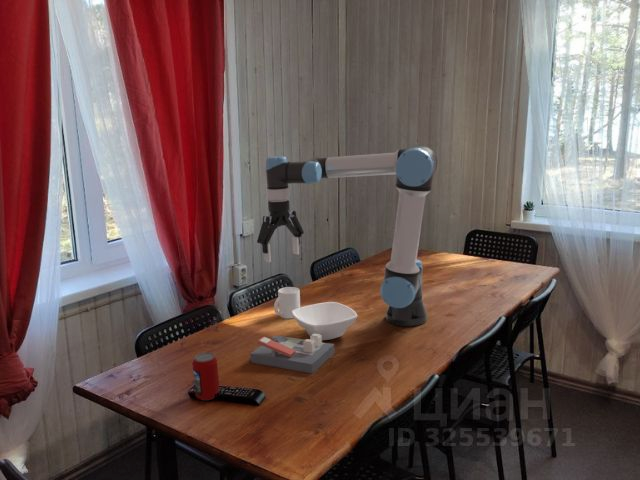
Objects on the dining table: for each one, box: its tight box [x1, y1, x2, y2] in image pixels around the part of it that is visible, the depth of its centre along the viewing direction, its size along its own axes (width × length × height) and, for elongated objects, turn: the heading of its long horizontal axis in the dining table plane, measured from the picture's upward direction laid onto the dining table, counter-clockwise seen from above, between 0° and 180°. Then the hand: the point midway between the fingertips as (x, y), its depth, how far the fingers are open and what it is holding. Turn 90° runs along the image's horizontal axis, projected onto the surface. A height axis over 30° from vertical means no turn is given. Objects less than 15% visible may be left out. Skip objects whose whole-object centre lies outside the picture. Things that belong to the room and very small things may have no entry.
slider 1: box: [303, 338, 315, 353], centre depth 179 cm, size 3×2×3 cm
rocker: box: [256, 336, 296, 357], centre depth 179 cm, size 12×4×1 cm, turn 65°
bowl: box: [292, 301, 358, 342], centre depth 199 cm, size 21×21×9 cm
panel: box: [249, 334, 335, 374], centre depth 182 cm, size 22×16×4 cm
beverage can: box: [192, 352, 220, 401], centre depth 159 cm, size 7×7×12 cm
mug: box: [273, 286, 301, 320], centre depth 218 cm, size 12×8×10 cm
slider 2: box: [309, 333, 323, 347], centre depth 184 cm, size 3×2×3 cm
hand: (282, 257), depth 207 cm, fingers open, 13 cm apart
